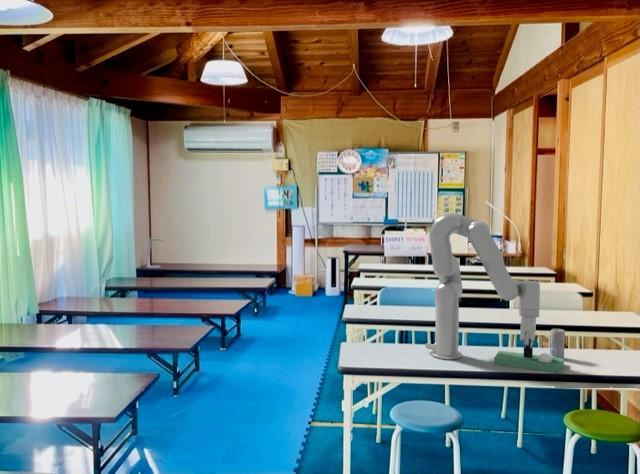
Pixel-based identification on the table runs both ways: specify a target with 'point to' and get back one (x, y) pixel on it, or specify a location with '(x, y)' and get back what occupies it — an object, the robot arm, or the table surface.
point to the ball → (544, 358)
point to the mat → (528, 361)
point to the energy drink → (557, 343)
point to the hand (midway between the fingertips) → (528, 357)
